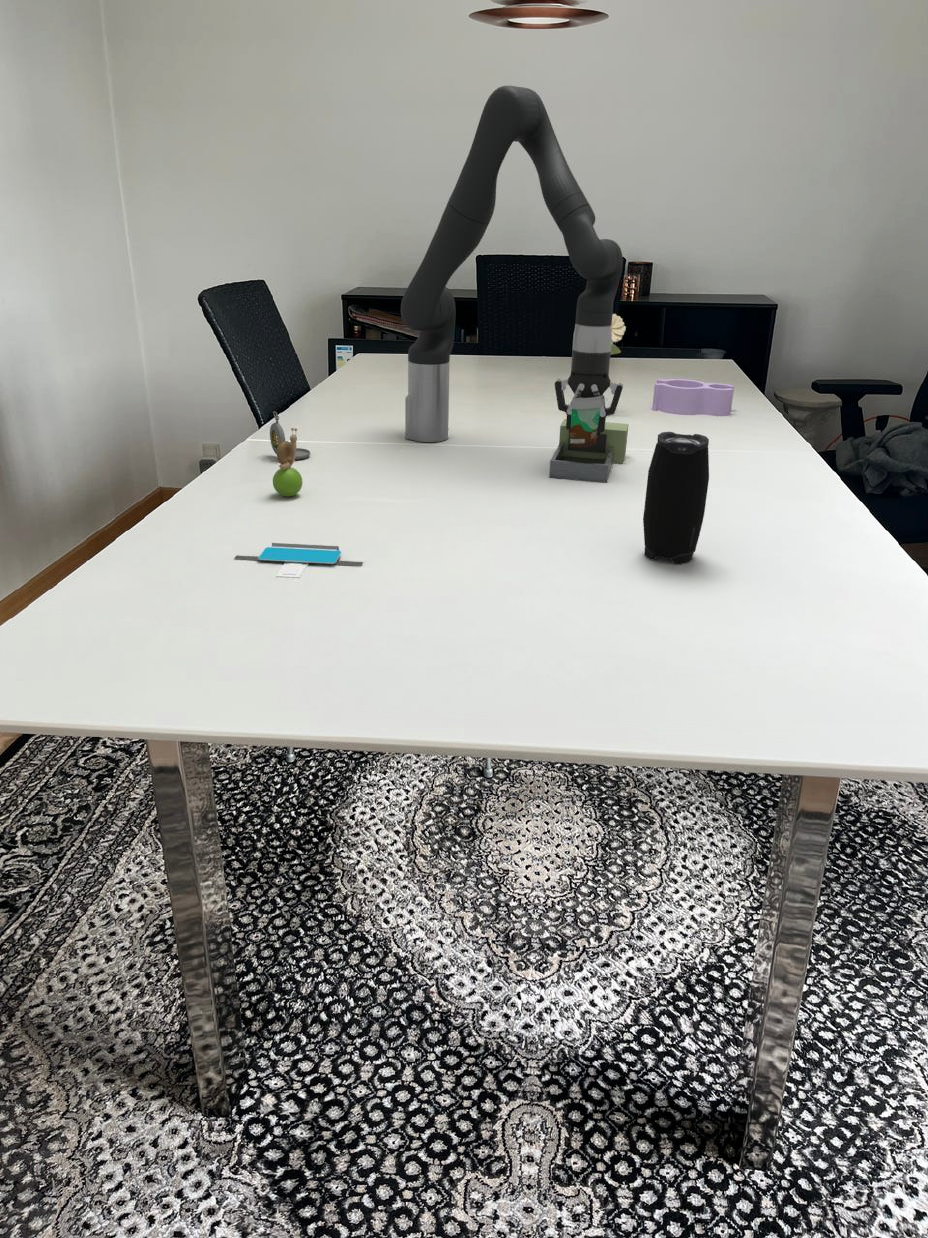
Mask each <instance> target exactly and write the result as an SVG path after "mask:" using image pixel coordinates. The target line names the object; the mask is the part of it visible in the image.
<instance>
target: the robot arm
mask: <svg viewBox="0 0 928 1238" xmlns="http://www.w3.org/2000/svg"><path fill="white" fill-rule="evenodd" d="M482 109H483V110H482V113H481V115H480V118H479V120H478V121H479V122H478V124H477V128H476V130H475V134H474V137H473V141H472V142H471V143H472V144H471V147H470V149H469V151H468V155H467V157H466V160H465V163H464V165H463V166H462V169H461V171H460V173H459V176H458V178H457V181H456V183H455V186H454V188H453V190H452V192H451V195H450V197H449V198H448V200H447V203H446V206H445V208H444V210H443V213H442V214H441V218H440V221H439V222H438V225H437V228H436V230H435V232H434V234H433V237H432V239H431V241H430V243H429V246H428V248H427V249H426V250H427V251H426V253H425V255H424V257H423V258H422V262H421V263H420V265H419V267H418V269H417V270H416V272H415V273H414V276H413V278H412V279H411V281H410V283H409V284H408V285H407V288H406V290H405V291H404V294H403V297H402V299H401V303H400V316H401V320H402V323H403V324H404V325H405V326H406V327H407V328H408V329H409V330H412V331H415V332H419V335H418V337H417V338H416V340H415V341H414V342H413V344H412V345H410V346H409V348H408V351H407V352H408V353H407V395H406V396H405V397H404V398H405V402H404V403H405V407H404V408H405V411H404V412H405V413H404V414H405V415H404V416H405V420H404V421H405V423H404V425H405V426H404V427H405V428H404V430H405V431H404V432H405V433H404V434H405V439H406V440H411V441H414V442H420V443H437V442H444V441H447V440H448V438H449V428H450V427H449V419H450V418H449V416H450V415H449V414H450V412H449V411H450V406H449V404H450V364H451V363H450V360H451V359H450V357H451V353H452V351H453V348H454V342H455V329H456V328H455V327H456V311H457V310H456V301H455V297H454V295H453V292H451V290H450V289H449V287H447V285H448V282H449V280H450V279H451V278H452V276H453V275H454V273H455V272H456V271H457V270H459V269H458V268H460V267H461V265H463V263H464V262H465V261H466V260H467V259H468V258H469V256H471V255H472V254H473V252H474V251H475V249H477V247H478V246H479V244H480V243H481V241H482V239H483V237H484V236H485V233H486V230H487V229H488V227H489V224H490V222H491V221H492V217H493V215H494V211H495V208H496V199H497V181H498V175H499V171H500V169H501V167H502V164H503V162H504V160H505V157H506V156H507V154H508V151H509V150H510V147H511V146H512V144H513V143H514V142H516V143H517V142H518V143H519V144H520V145H521V147H522V148H523V150H525V151H526V153H527V154H528V156H529V157H530V159H531V161H532V164H533V165H534V168H535V170H536V172H537V175H538V180H539V186H540V189H541V195H542V198H543V201H544V204H545V206H546V208H547V210H548V212H549V214H550V216H551V217H552V218H553V221H554V222H555V224H556V226H557V229H559V231H560V232H561V234H562V237H563V241H564V245H565V248H566V251H567V254H568V258H569V259H570V262H571V264H572V266H573V268H574V269H575V271H576V273H578V274H579V275H580V277H582V278H583V279H586V280H587V282H586V286H585V289H584V291H583V292H582V293H580V294H579V296H578V298H577V303H576V311H575V312H576V313H575V325H574V331H573V338H572V350H571V351H572V352H571V365H570V366H571V367H570V375H569V376H568V378H566V379H560V378H558V379H556V381H554V390H555V395H556V403H557V408H558V411H560V412H564V413H565V414H566V418H565V419H566V429H567V430H569V433H570V432H571V414H572V401H571V400H570V401H571V403H570V405H568V404H566V400H565V390H567V385H568V386H569V388H570V389H571V391H572V392H573V394H574V395H573V396H572V398H575V397H577V398H580V397H583V398H592V397H598V396H601V395H604V393H605V392H606V391H607V390H608V388H610V393H611V394H612V395H613V397H612V400H611V406H610V407H609V408H606V407H605V405H604V406H602V407H601V408H600V417H599V423H598V429H597V435H601V432H604V429H605V422H606V419H607V416H610V415H614V414H615V412H616V410H617V408H618V405H619V404H618V403H619V401H620V398H621V396H622V391H623V389H624V384H623V383H621V382H619V383H616V382H613V381H611V379H610V361H611V355H610V353H611V347H612V343H611V341H612V330H611V327H612V315H613V314H614V311H613V310H614V301H615V297H616V295H617V291H618V289H619V288H618V287H619V283H620V280H621V276H622V272H623V265H624V264H623V262H624V261H623V260H624V257H623V252H622V249H621V247H620V245H619V244H618V243H617V242H616V241H615V240H613V239H610V238H609V239H608V238H602V239H601V238H599V237H598V234H597V233H596V230H595V228H594V227H595V222H596V214H595V212H594V210H593V207H592V206H591V204H590V203H589V201H588V199H587V197H586V196H585V194H584V192H583V191H582V188H581V187H580V185H579V183H578V182H577V179H576V178H575V176H574V174H573V173H572V170H571V168H570V166H569V164H568V162H567V160H566V157H565V155H564V152H563V151H562V149H561V145H560V143H559V141H558V138H557V135H556V133H555V130H554V127H553V125H552V123H551V119H550V116H549V115H548V111H547V109H546V107H545V104H544V102H543V100H542V99H541V96H540V95H539V94H538V93H537V92H536V91H534V90H533V89H531V88H529V87H528V88H527V87H525V86H524V87H523V86H515V85H501V86H499V87H497V88H496V89H495V90H494V91H493V92H492V93H491V94H490V95H489V96H488V98H487V100H486V102H485V104H484V106H483V108H482Z"/></svg>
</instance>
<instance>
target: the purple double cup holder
mask: <svg viewBox="0 0 928 1238" xmlns="http://www.w3.org/2000/svg"><path fill="white" fill-rule="evenodd" d="M653 388H654V389H653V399H652V406H651V407H652V408H651V411H656V412H657V411H659V412H662V413H666V414H671V415H680V416H697V415H706V416H711V417H712V416H714V417H729V416H731V412H732V405H733V398H734V392H735V391H734V390H735V386H734V385H733V384H727V383H715V382H703V381H699V380H693V379H685V378H684V379H683V378H681V379H679V378H672V379H670V378H669V379H662V378H657V379H656V383H654V387H653Z"/></svg>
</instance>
